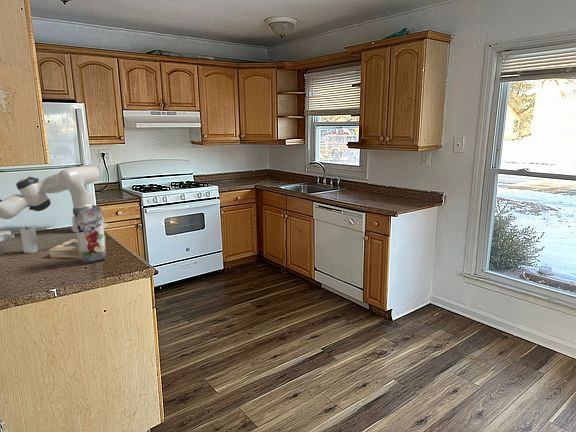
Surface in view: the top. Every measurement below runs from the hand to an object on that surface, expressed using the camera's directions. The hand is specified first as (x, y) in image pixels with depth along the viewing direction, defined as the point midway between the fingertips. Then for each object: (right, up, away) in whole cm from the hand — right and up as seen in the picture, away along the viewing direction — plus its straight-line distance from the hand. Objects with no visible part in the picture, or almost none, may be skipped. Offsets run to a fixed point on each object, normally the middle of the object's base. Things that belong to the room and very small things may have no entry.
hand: (6, 239), depth 203 cm
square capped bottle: (+12, -6, +1) cm, 14 cm away
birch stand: (+36, -6, -1) cm, 37 cm away
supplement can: (+37, -2, +19) cm, 42 cm away
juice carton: (+51, -9, -14) cm, 54 cm away
